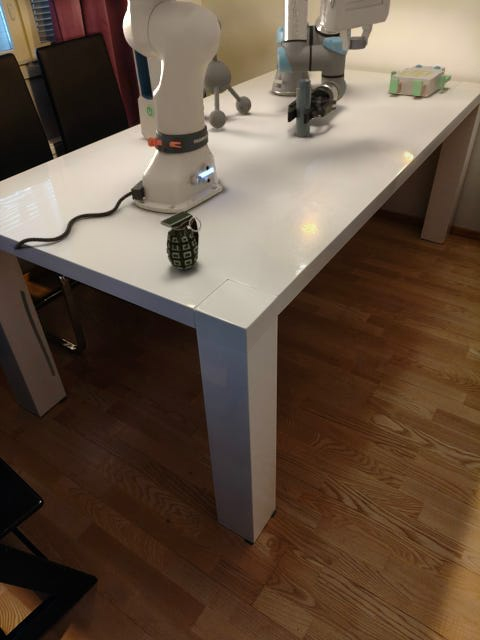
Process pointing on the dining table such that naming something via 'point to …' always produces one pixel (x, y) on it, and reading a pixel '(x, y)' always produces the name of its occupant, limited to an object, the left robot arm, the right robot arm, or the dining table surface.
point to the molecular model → (221, 90)
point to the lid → (358, 42)
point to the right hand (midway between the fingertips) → (296, 118)
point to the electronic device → (147, 91)
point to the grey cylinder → (303, 107)
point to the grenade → (182, 240)
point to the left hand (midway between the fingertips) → (355, 48)
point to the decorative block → (418, 80)
